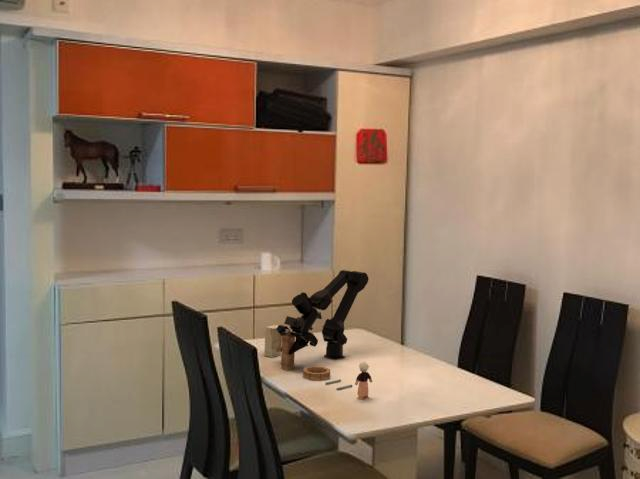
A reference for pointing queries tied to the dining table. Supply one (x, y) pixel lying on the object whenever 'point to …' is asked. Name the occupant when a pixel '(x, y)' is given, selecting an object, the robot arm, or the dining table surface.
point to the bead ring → (316, 373)
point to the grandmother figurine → (363, 381)
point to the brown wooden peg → (287, 352)
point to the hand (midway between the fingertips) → (285, 352)
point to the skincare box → (272, 341)
